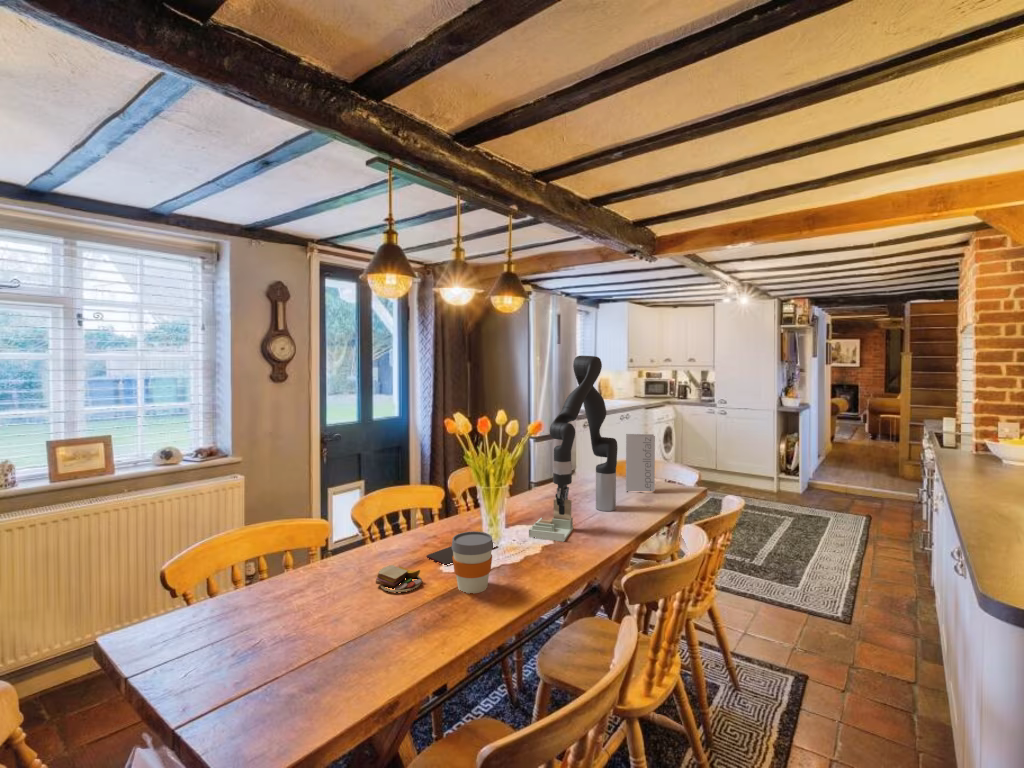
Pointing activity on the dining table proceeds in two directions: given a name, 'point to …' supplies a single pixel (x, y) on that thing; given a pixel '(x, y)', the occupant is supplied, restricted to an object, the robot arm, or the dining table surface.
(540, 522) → the offcuts
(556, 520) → the tray
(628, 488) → the brochure
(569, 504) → the tan rectangular block
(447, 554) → the smartphone
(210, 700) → the dining table surface
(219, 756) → the dining table surface
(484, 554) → the reusable coffee cup
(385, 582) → the toy sandwich meal
